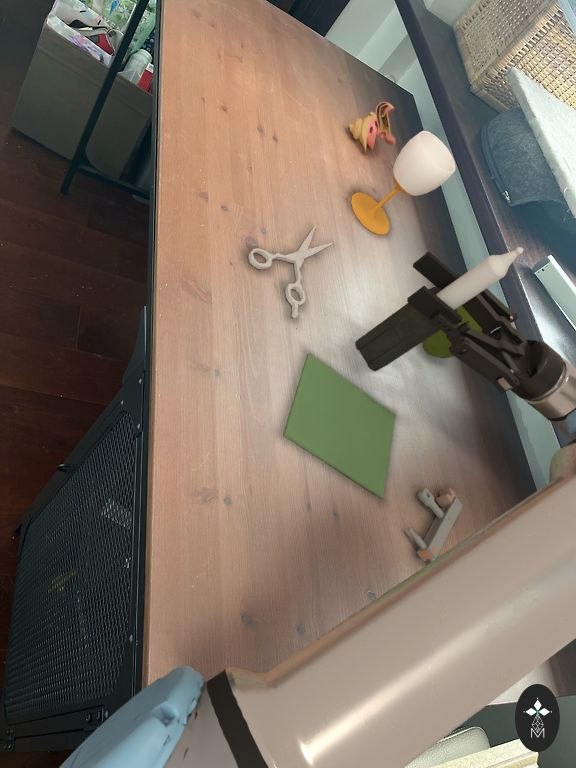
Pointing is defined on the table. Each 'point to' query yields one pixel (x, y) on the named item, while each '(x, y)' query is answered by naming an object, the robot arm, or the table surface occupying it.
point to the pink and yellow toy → (374, 126)
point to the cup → (408, 178)
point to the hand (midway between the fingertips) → (418, 276)
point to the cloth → (341, 425)
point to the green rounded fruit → (440, 343)
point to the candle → (415, 327)
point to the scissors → (297, 260)
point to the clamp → (437, 522)
